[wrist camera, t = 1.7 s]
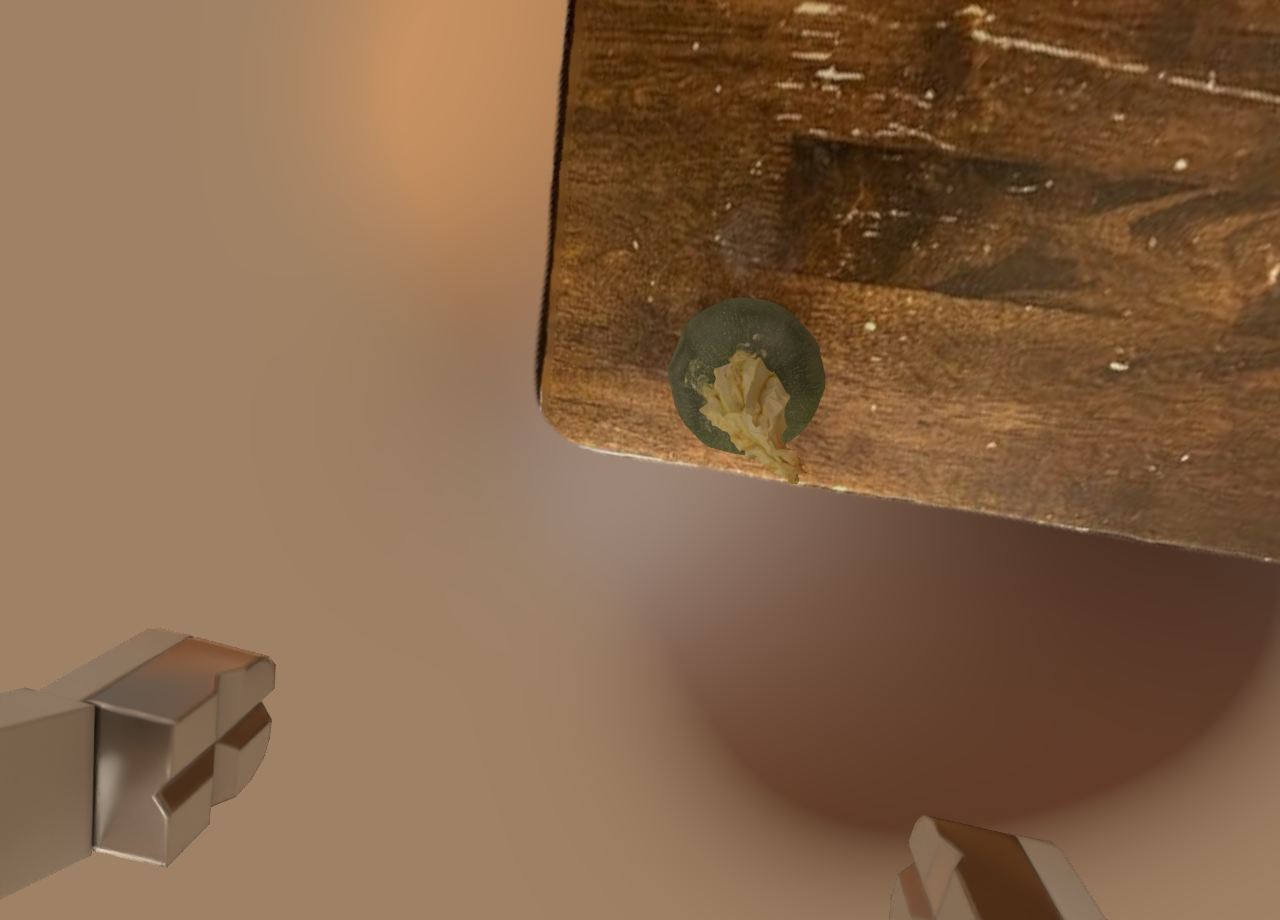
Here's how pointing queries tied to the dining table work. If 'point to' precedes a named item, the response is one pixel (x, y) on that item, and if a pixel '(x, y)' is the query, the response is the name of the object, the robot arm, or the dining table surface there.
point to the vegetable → (748, 381)
